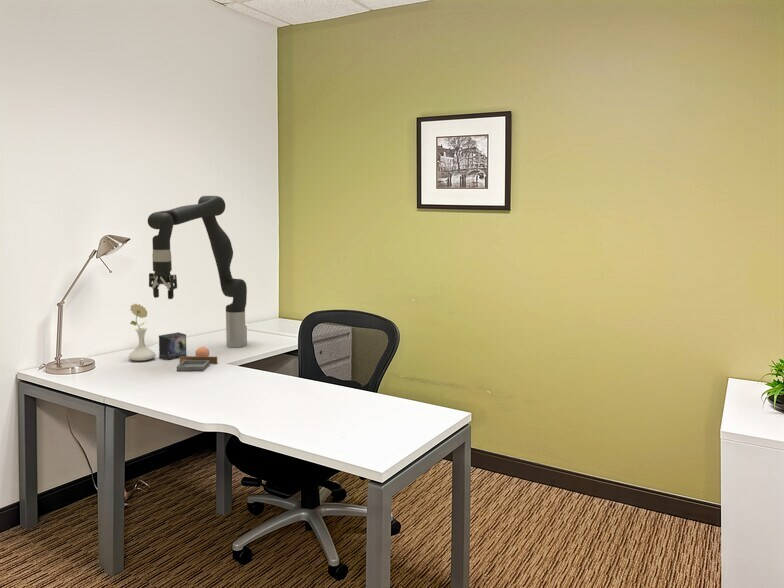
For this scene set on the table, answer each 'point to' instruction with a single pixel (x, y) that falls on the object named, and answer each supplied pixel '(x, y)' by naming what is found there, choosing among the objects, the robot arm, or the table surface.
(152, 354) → the flower in vase
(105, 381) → the table surface
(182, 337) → the small box
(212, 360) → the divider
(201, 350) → the ball
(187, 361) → the tray
